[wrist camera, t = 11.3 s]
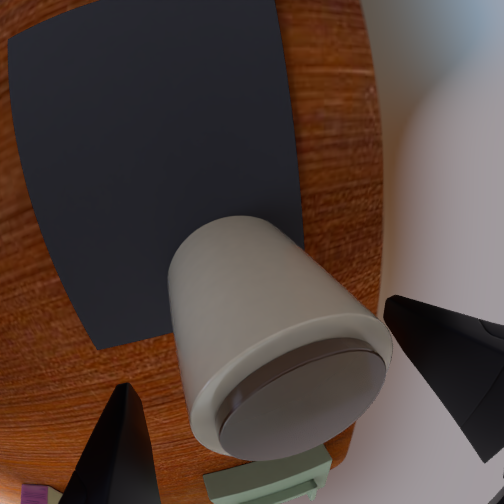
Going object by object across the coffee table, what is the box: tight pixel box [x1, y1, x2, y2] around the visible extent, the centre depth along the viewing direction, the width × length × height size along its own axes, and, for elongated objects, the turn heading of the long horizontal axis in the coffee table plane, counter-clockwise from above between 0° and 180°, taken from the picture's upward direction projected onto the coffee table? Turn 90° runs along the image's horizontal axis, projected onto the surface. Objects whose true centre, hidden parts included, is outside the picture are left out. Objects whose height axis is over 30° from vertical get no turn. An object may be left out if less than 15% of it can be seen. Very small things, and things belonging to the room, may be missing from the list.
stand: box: [203, 443, 332, 504], centre depth 23 cm, size 12×11×4 cm
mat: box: [8, 0, 304, 350], centre depth 10 cm, size 11×15×1 cm
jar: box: [167, 216, 393, 461], centre depth 10 cm, size 6×6×8 cm
